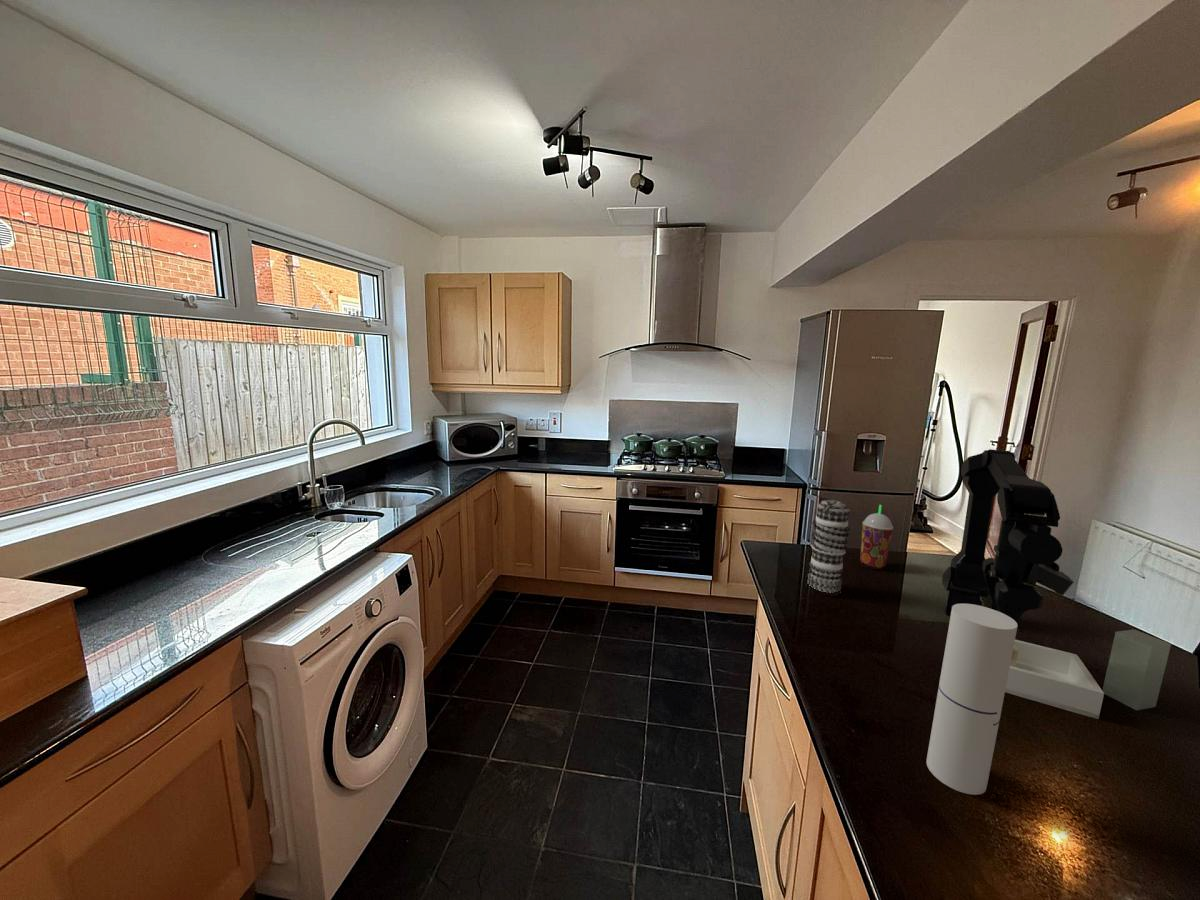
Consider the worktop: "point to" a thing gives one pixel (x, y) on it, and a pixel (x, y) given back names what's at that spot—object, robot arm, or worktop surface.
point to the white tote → (1054, 680)
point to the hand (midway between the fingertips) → (1002, 620)
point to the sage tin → (1136, 669)
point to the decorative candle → (828, 546)
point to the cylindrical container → (970, 696)
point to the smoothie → (876, 539)
